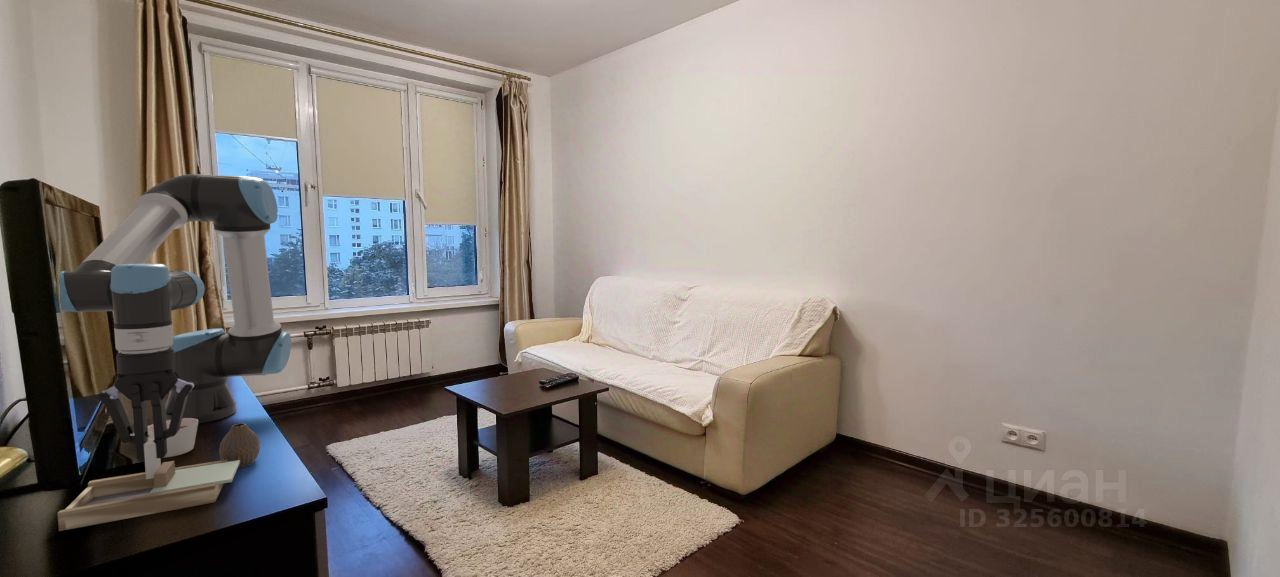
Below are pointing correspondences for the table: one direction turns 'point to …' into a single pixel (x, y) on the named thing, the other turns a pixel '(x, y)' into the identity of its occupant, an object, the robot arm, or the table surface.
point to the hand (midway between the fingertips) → (153, 475)
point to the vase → (240, 445)
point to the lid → (192, 476)
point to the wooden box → (131, 499)
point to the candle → (179, 437)
